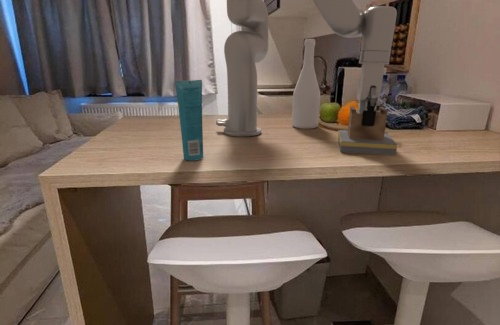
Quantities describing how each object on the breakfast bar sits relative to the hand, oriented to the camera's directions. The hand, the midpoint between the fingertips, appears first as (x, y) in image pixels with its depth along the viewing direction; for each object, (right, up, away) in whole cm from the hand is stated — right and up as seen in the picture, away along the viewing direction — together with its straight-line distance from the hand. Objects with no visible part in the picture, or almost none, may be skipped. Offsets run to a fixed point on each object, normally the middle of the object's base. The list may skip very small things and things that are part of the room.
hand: (365, 122), depth 91 cm
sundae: (+6, -3, +15) cm, 17 cm away
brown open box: (0, -4, +1) cm, 4 cm away
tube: (-47, -10, -9) cm, 49 cm away
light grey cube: (0, +3, -1) cm, 3 cm away
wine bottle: (-12, +2, +28) cm, 30 cm away
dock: (0, -7, +2) cm, 7 cm away
